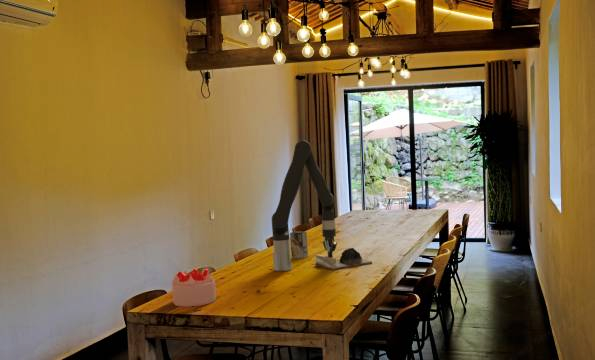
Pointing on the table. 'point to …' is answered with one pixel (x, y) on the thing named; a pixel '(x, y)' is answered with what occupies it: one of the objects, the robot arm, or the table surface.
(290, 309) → the table surface
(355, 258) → the black rock
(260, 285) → the table surface
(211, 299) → the cake
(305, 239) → the coffee box
